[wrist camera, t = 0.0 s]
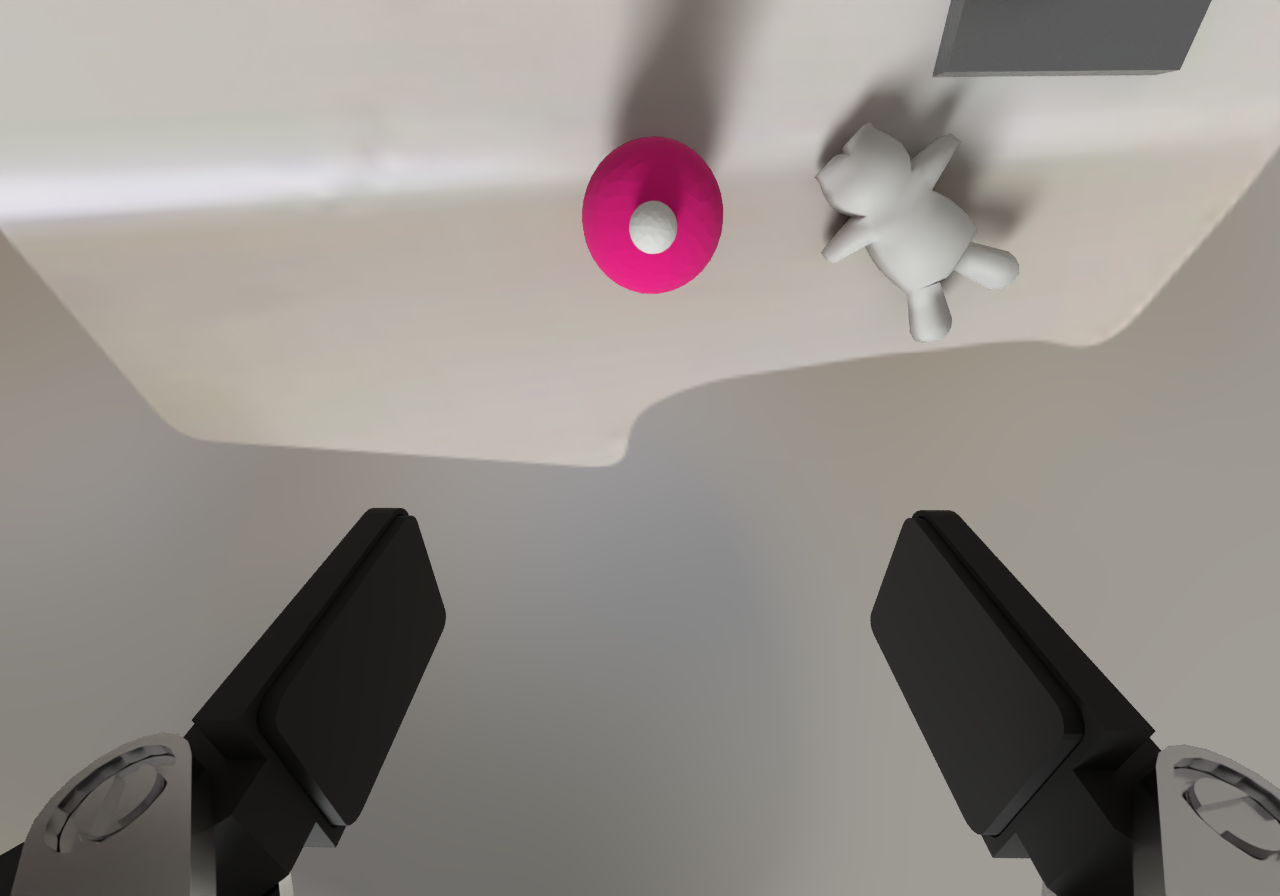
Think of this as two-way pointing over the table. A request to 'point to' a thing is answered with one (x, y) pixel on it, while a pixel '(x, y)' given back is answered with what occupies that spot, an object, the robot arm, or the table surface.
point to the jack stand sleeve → (1067, 37)
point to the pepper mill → (652, 215)
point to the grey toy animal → (908, 224)
